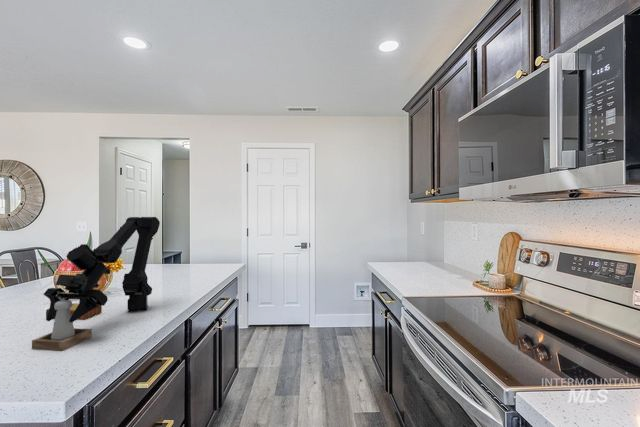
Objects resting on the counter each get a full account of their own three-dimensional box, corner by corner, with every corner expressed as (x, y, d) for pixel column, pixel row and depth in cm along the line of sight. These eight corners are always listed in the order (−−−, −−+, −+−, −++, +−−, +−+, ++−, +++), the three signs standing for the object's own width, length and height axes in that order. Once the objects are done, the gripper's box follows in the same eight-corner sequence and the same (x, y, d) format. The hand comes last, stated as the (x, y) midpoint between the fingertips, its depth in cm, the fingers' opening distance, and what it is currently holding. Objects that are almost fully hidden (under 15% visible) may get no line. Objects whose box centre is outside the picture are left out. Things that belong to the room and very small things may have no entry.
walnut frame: (64, 335, 103) (64, 327, 103) (91, 337, 102) (91, 329, 102) (31, 348, 93) (31, 340, 93) (62, 350, 92) (62, 342, 92)
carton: (85, 321, 118) (85, 309, 118) (45, 320, 119) (45, 308, 119) (102, 313, 126) (101, 303, 126) (64, 312, 127) (64, 302, 127)
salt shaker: (48, 348, 94) (48, 304, 93) (53, 341, 99) (53, 299, 99) (72, 344, 96) (72, 302, 96) (77, 337, 101) (76, 297, 101)
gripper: (49, 263, 102) (12, 307, 92) (100, 264, 100) (68, 309, 89) (71, 281, 110) (39, 324, 99) (119, 283, 108) (92, 327, 97)
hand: (58, 321), depth 96 cm, fingers open, 8 cm apart
